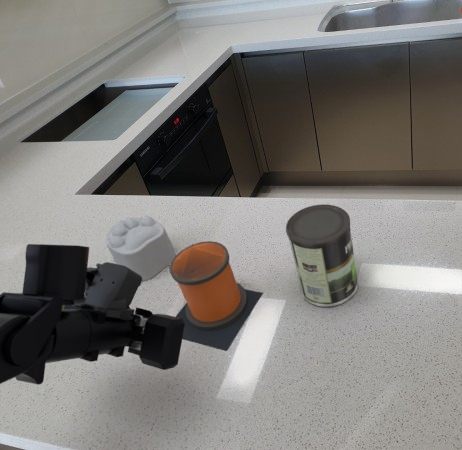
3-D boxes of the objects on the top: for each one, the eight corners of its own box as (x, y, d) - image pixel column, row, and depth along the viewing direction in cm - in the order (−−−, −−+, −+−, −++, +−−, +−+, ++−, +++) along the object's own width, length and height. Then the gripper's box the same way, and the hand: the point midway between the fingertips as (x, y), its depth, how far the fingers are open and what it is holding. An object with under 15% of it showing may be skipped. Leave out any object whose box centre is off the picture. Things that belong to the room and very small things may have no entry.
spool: (210, 341, 76) (189, 295, 69) (175, 310, 83) (153, 266, 76) (260, 301, 81) (245, 254, 74) (223, 275, 88) (207, 231, 81)
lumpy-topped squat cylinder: (141, 286, 90) (123, 252, 85) (108, 263, 98) (90, 231, 92) (182, 255, 95) (168, 222, 90) (148, 235, 103) (133, 204, 98)
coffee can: (355, 262, 85) (347, 200, 76) (360, 304, 77) (352, 239, 68) (300, 268, 86) (286, 208, 77) (300, 310, 78) (284, 247, 69)
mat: (226, 350, 74) (226, 350, 74) (162, 333, 79) (162, 333, 79) (262, 293, 83) (262, 292, 82) (203, 281, 88) (203, 280, 88)
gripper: (147, 278, 51) (224, 281, 65) (34, 254, 58) (125, 261, 73) (128, 380, 50) (210, 360, 64) (16, 342, 58) (111, 332, 72)
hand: (162, 324), depth 68 cm, fingers closed
